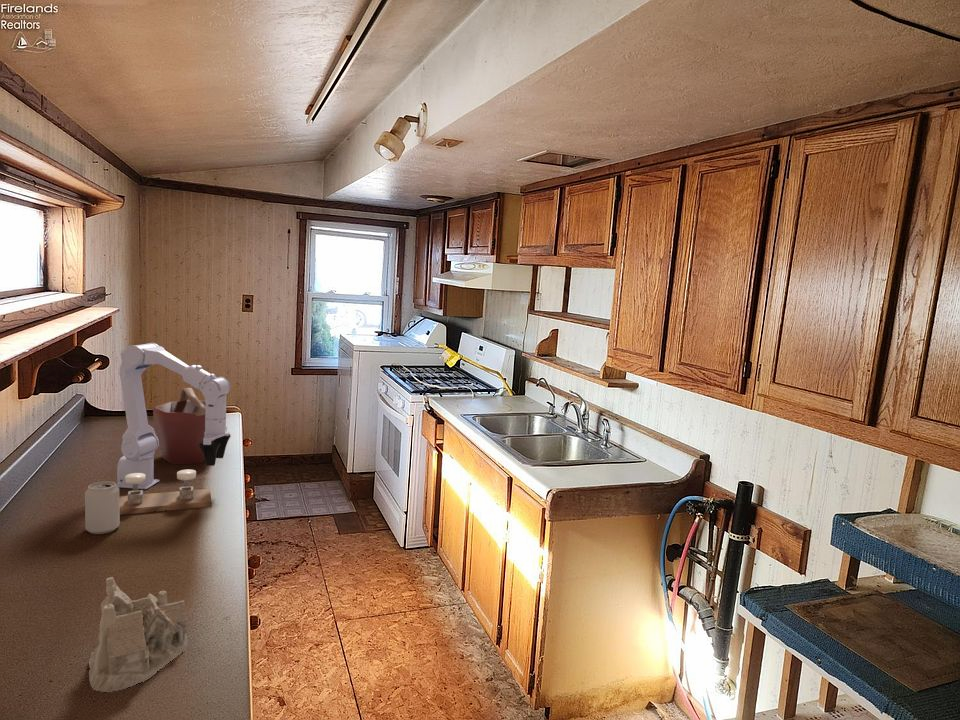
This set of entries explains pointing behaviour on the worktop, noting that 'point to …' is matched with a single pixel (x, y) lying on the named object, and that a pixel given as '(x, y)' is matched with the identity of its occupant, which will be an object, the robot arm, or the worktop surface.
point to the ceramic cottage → (135, 638)
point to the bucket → (181, 428)
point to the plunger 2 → (186, 476)
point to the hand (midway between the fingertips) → (215, 461)
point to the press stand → (164, 500)
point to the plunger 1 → (135, 479)
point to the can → (102, 507)
